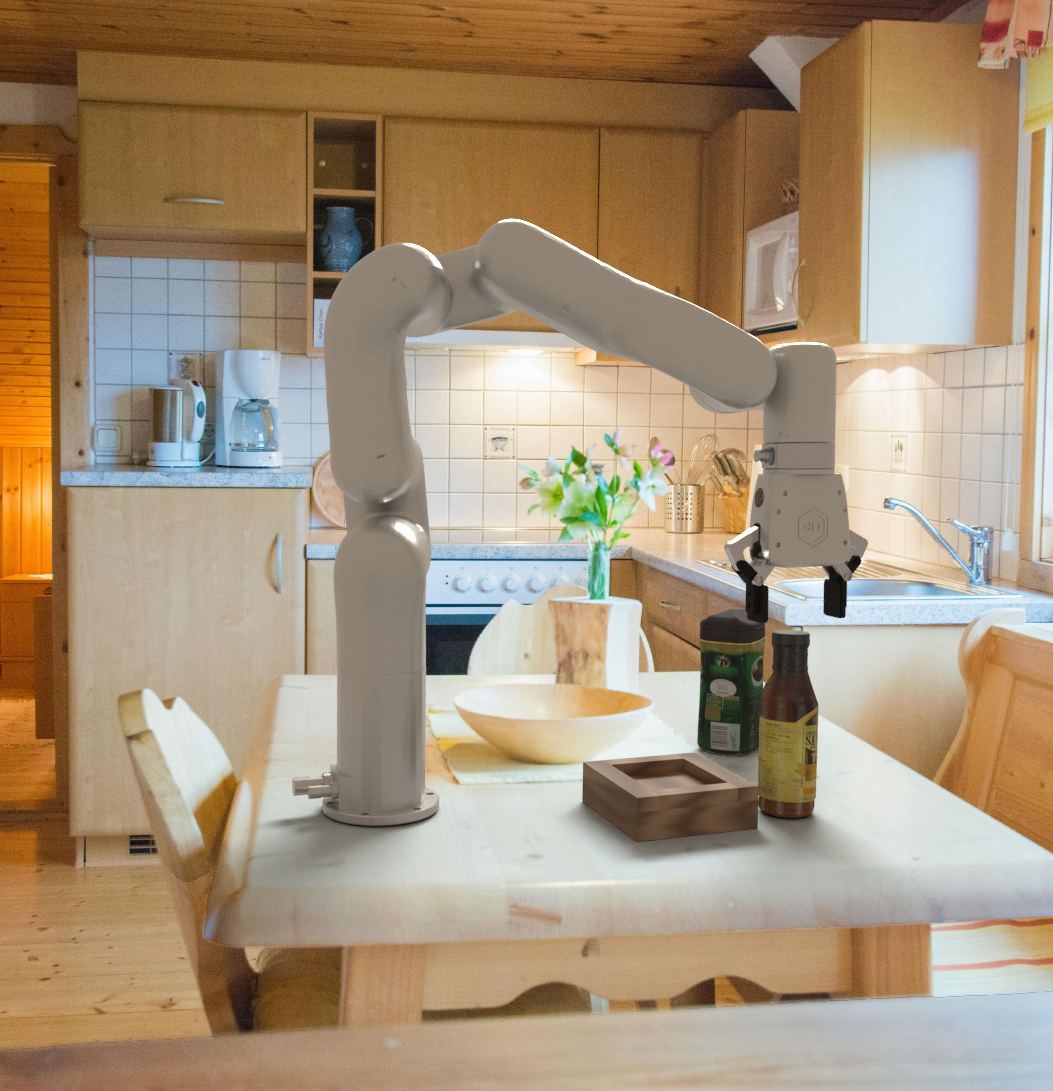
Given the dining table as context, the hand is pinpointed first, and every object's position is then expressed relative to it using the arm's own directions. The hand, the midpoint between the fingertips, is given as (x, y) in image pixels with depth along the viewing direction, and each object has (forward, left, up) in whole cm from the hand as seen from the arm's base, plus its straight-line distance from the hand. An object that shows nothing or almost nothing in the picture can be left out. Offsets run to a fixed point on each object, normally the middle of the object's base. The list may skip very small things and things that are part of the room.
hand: (796, 618), depth 123 cm
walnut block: (-13, +3, -21) cm, 25 cm away
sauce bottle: (0, 0, -22) cm, 22 cm away
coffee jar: (+8, +26, -22) cm, 35 cm away
